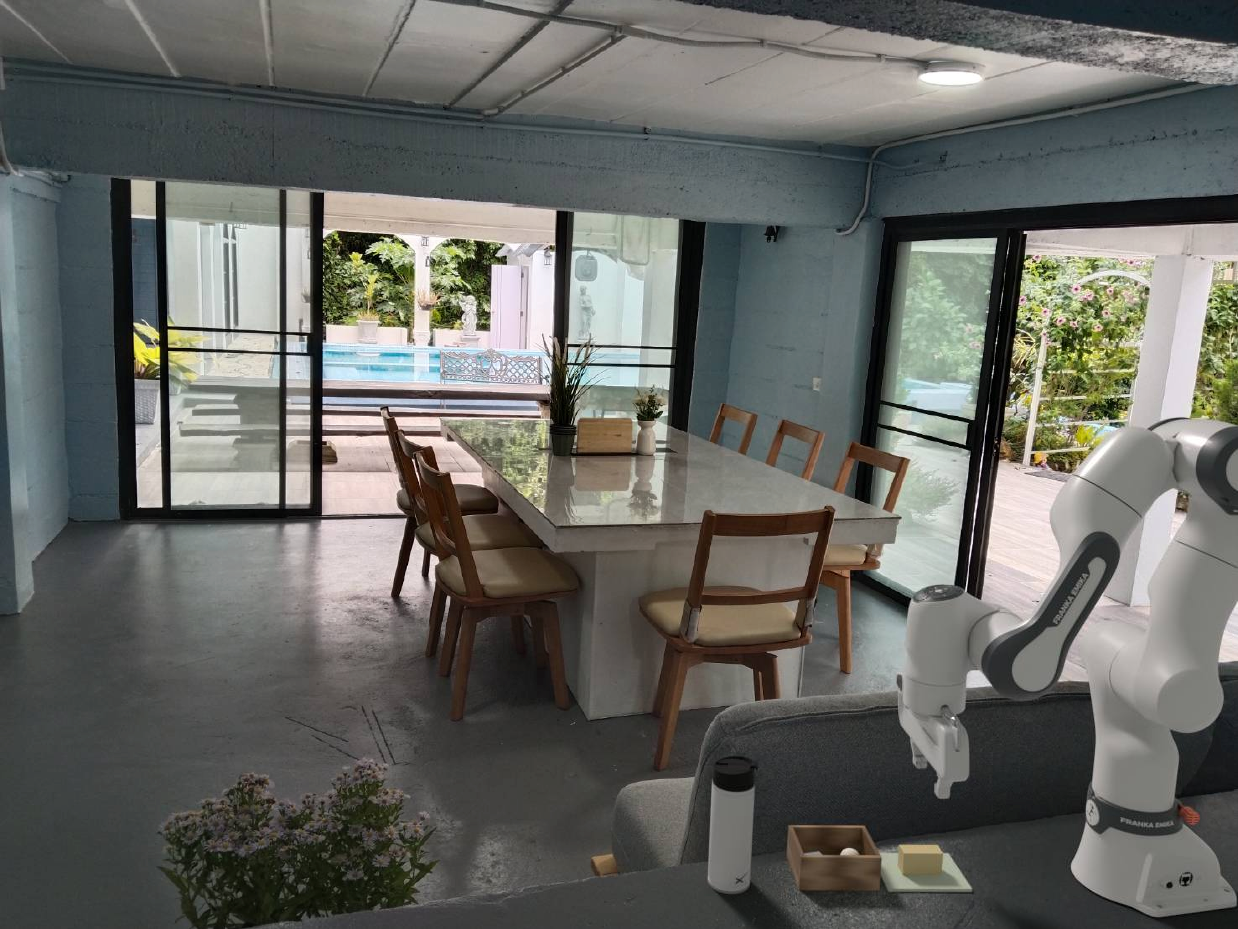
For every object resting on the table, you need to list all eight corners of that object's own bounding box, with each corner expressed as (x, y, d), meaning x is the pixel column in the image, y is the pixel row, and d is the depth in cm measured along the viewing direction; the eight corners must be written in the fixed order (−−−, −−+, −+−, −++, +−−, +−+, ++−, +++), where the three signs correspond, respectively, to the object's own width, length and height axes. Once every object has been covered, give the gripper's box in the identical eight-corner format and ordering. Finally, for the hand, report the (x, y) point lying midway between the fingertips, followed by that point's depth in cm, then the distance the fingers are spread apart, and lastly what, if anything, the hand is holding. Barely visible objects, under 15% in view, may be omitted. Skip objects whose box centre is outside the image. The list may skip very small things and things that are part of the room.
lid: (947, 862, 154) (950, 832, 153) (971, 898, 145) (974, 867, 144) (868, 862, 154) (870, 832, 153) (887, 898, 144) (889, 866, 143)
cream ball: (856, 863, 151) (858, 844, 151) (862, 875, 148) (864, 855, 148) (836, 863, 151) (837, 844, 151) (841, 874, 148) (843, 855, 147)
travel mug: (750, 902, 142) (756, 773, 139) (705, 895, 143) (710, 768, 140) (753, 878, 148) (759, 754, 145) (709, 872, 149) (715, 749, 146)
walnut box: (861, 861, 153) (864, 825, 152) (879, 895, 144) (881, 857, 143) (786, 860, 153) (788, 825, 152) (798, 894, 144) (801, 857, 143)
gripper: (983, 722, 134) (978, 815, 137) (931, 668, 155) (927, 750, 157) (938, 723, 134) (934, 817, 136) (892, 669, 154) (889, 751, 156)
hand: (930, 781), depth 147 cm, fingers open, 8 cm apart
